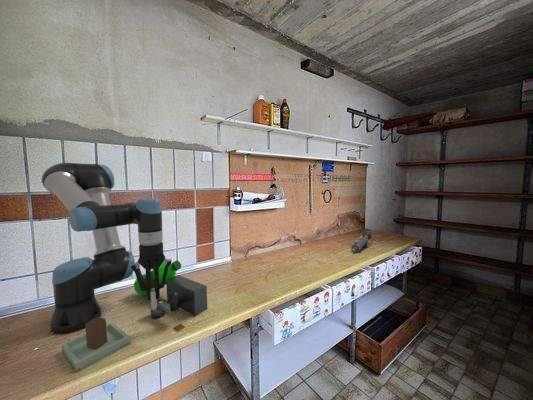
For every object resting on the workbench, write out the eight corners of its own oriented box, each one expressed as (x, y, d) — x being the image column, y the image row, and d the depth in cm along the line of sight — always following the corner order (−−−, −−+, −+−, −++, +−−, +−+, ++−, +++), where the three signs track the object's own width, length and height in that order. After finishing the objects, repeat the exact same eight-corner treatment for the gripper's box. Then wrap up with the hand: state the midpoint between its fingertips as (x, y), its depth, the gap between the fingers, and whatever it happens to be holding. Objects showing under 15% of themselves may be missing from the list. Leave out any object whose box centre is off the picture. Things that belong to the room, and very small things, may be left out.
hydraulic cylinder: (373, 240, 189) (373, 229, 187) (358, 259, 162) (357, 246, 160) (364, 239, 194) (363, 228, 192) (347, 257, 167) (347, 244, 165)
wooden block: (95, 350, 71) (93, 325, 71) (86, 347, 72) (84, 323, 72) (108, 341, 75) (106, 318, 75) (98, 339, 76) (97, 316, 76)
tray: (62, 351, 72) (61, 344, 72) (112, 328, 83) (112, 322, 83) (76, 372, 64) (75, 364, 64) (130, 343, 75) (129, 336, 75)
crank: (147, 306, 90) (146, 287, 90) (159, 300, 94) (158, 282, 94) (171, 317, 82) (170, 297, 82) (183, 310, 86) (182, 291, 86)
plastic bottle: (151, 283, 116) (188, 261, 110) (144, 302, 108) (183, 280, 102) (135, 273, 112) (172, 250, 105) (125, 292, 103) (165, 268, 97)
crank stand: (143, 312, 93) (141, 288, 93) (179, 296, 107) (178, 275, 106) (175, 333, 80) (173, 305, 79) (212, 311, 93) (211, 287, 92)
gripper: (127, 247, 74) (131, 317, 76) (170, 243, 79) (173, 309, 81) (132, 241, 81) (135, 305, 83) (171, 238, 86) (174, 299, 88)
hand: (154, 307), depth 82 cm, fingers closed
